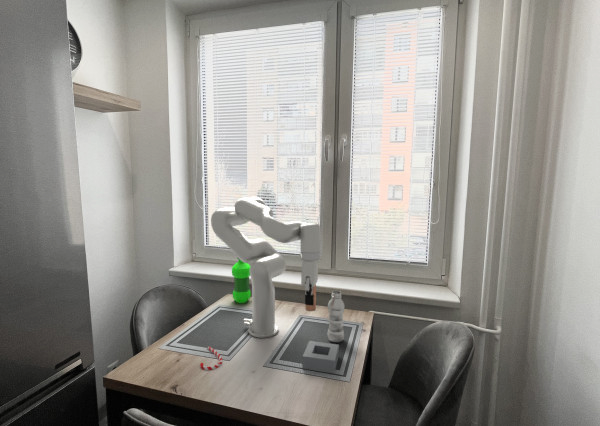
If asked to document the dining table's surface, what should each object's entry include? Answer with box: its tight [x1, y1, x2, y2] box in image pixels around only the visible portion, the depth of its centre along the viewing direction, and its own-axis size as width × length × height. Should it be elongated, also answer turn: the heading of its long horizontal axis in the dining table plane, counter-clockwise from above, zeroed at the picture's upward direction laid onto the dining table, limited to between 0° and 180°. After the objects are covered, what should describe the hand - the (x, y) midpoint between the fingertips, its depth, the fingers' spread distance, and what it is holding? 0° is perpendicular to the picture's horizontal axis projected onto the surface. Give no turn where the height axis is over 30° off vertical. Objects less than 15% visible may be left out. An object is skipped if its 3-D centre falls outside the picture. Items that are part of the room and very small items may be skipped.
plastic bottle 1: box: [231, 257, 252, 304], centre depth 170 cm, size 10×10×25 cm
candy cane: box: [199, 346, 224, 371], centre depth 116 cm, size 8×1×15 cm
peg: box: [305, 284, 317, 312], centre depth 124 cm, size 4×4×10 cm
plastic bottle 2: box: [326, 290, 345, 344], centre depth 130 cm, size 6×7×20 cm
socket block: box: [301, 340, 340, 374], centre depth 115 cm, size 11×11×4 cm
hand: (310, 302), depth 124 cm, fingers closed on peg, 4 cm apart
